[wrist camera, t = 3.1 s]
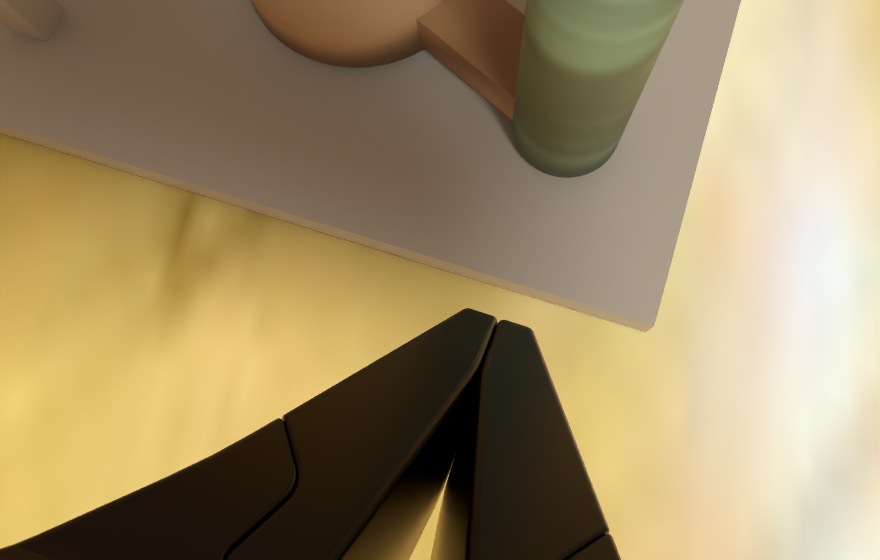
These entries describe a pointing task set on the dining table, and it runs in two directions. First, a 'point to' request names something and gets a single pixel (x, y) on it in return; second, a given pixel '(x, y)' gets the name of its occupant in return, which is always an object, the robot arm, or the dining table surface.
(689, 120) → the stand
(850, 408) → the dining table surface
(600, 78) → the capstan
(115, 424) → the dining table surface
